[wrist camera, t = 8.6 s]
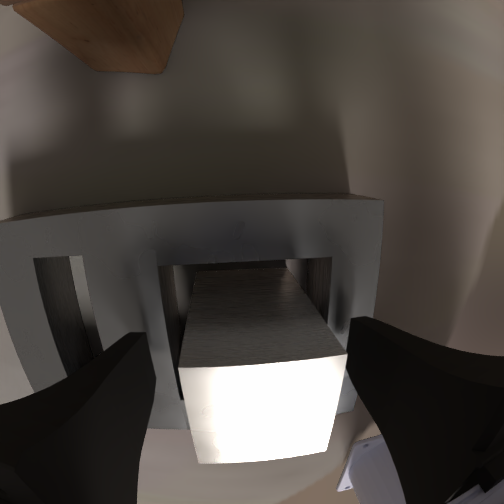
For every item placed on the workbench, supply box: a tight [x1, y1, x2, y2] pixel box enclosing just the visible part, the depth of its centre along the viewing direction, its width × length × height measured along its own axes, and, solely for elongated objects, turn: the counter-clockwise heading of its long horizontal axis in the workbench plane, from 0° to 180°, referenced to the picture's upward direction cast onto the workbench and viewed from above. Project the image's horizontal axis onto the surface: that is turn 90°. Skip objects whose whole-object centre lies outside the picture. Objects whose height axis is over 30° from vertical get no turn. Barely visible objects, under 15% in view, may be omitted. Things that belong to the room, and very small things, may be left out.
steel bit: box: [178, 267, 348, 463], centre depth 10 cm, size 4×4×7 cm
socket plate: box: [0, 193, 384, 429], centre depth 12 cm, size 16×10×3 cm, turn 91°
